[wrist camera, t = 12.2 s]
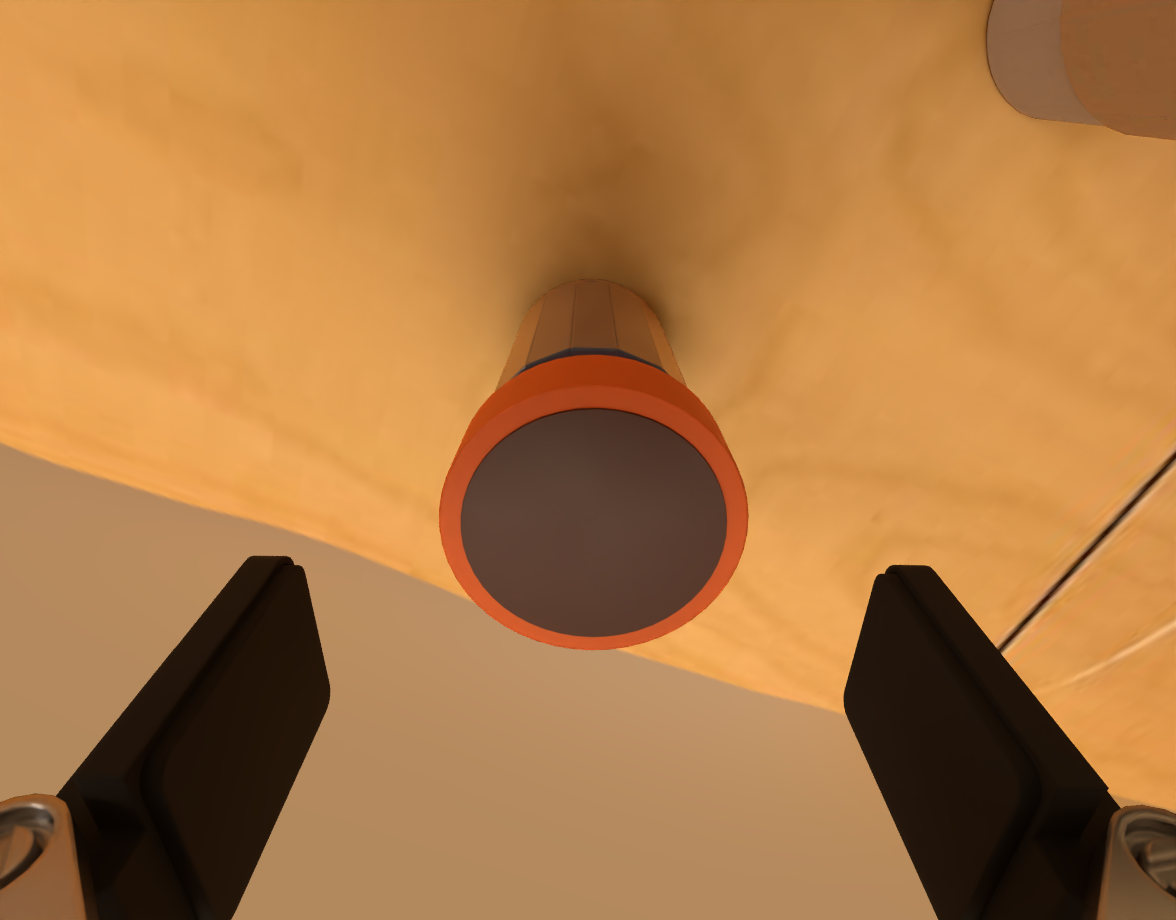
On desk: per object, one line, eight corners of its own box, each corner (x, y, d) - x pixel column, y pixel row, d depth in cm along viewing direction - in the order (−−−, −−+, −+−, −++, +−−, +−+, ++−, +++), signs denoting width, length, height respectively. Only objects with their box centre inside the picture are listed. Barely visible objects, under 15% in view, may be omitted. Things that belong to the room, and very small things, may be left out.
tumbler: (513, 277, 25) (471, 345, 16) (670, 280, 25) (716, 350, 16) (517, 422, 28) (484, 551, 19) (660, 425, 28) (694, 554, 19)
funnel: (490, 290, 22) (424, 382, 13) (697, 294, 22) (770, 388, 13) (498, 475, 25) (449, 650, 16) (680, 479, 25) (730, 655, 16)
